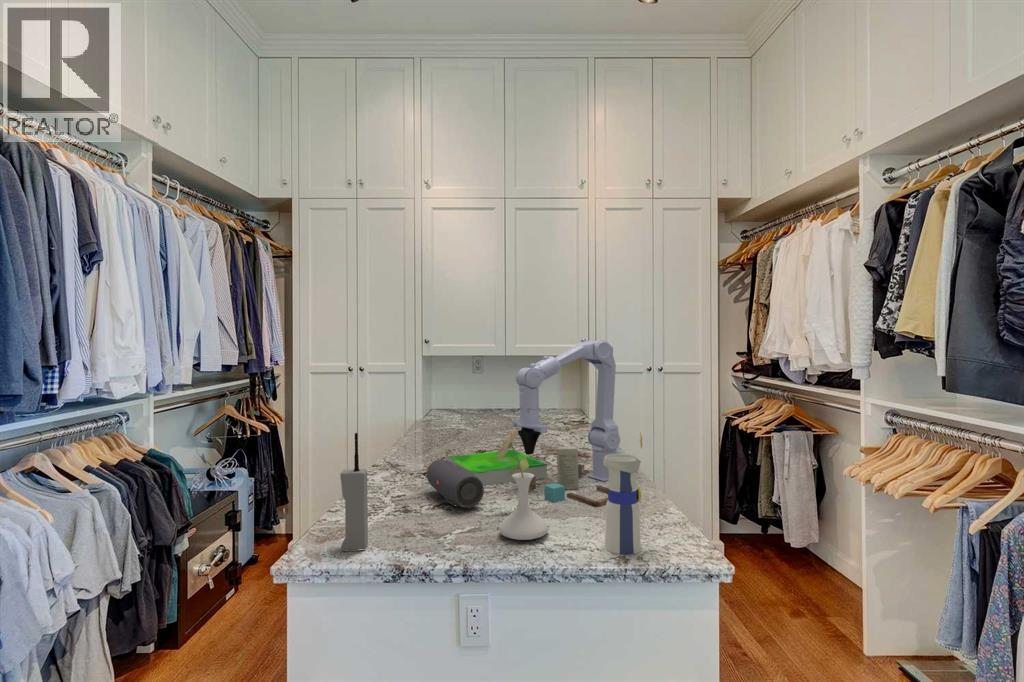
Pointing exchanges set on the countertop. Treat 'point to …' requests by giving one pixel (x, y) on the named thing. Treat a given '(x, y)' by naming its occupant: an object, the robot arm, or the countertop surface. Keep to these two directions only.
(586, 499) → the frame
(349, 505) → the vintage mobile phone
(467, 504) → the bluetooth speaker
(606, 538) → the water bottle
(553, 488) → the teal block
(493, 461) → the tray
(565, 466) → the skincare box
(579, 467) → the charcoal block
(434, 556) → the countertop surface
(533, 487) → the walnut block
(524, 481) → the flower in vase
